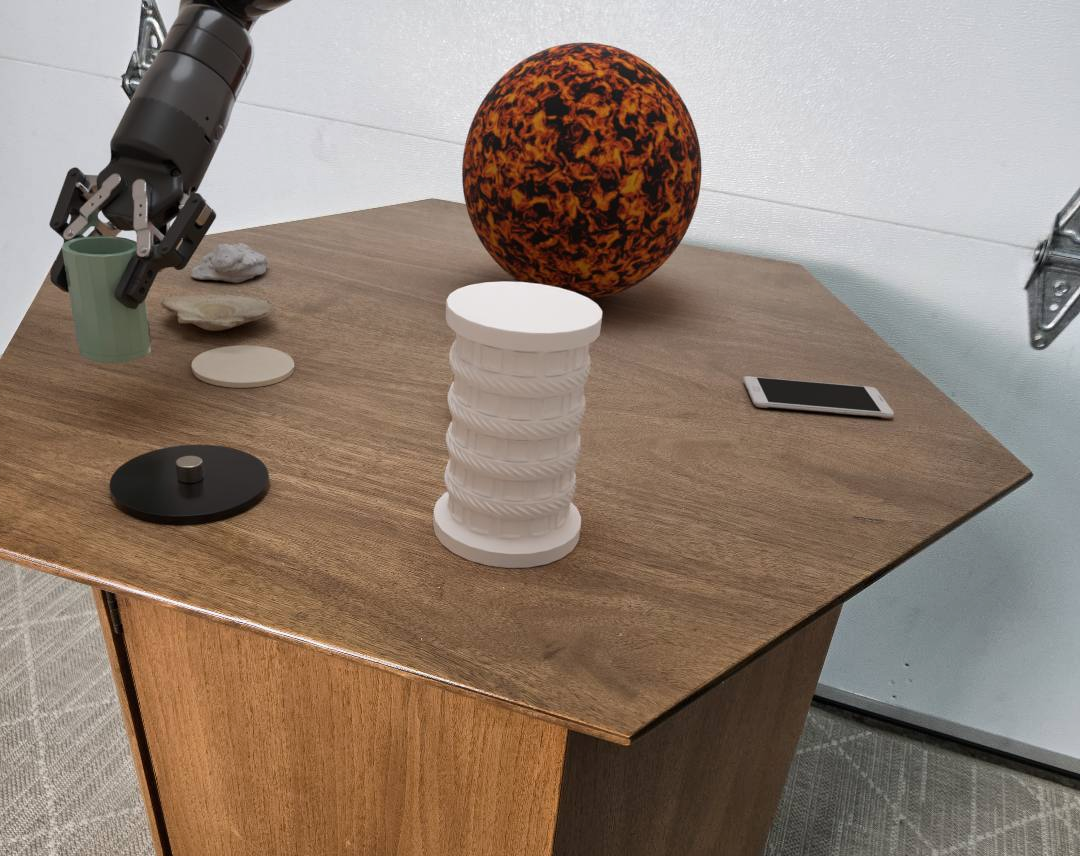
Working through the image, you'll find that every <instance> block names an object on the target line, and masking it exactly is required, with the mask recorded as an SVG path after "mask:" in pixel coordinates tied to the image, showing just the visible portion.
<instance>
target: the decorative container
mask: <svg viewBox="0 0 1080 856" xmlns="http://www.w3.org/2000/svg"><path fill="white" fill-rule="evenodd" d="M602 319H603V310H602V308H601V307H600V306H599V304H598V303H597V302H595V301H594V300H593V299H589V298H587V297H585V296H583V295H580V294H578V293H576V292H572V291H569V290H566V289H562V288H558V287H553V286H548V285H543V284H535V283H526V282H519V281H503V280H502V281H487V282H486V281H485V282H479V283H473V284H469V285H466V286H462V287H459V288H457V289H455V290H454V291H452V292H450V293H449V294H448V297H447V298H446V300H445V320H446V323H447V326H448V327H449V328H450V329H451V330H452V331H454V332H455V340H454V341H453V343H452V345H451V347H450V350H449V355H448V360H449V361H448V362H449V366H450V369H451V372H452V373H451V374H452V375H453V374H454V382H453V381H452V383H451V385H450V387H449V390H448V393H447V397H446V399H447V405H448V410H449V413H450V416H451V415H452V422H451V421H450V423H449V425H448V427H447V431H446V434H445V445H446V447H447V452H448V455H449V456H450V458H449V459H448V461H447V464H446V467H445V470H444V474H443V478H444V479H443V480H444V485H445V489H446V492H444V493H443V494H442V495H441V496H440V497H439V498H438V499H437V500H436V502H435V505H434V507H433V512H432V513H433V514H432V526H433V527H432V528H433V532H434V535H435V536H436V538H437V540H438V541H439V542H440V544H441V545H442V546H444V547H445V548H446V549H447V550H448V551H450V552H451V553H453V554H454V555H457V556H459V557H461V558H463V559H465V560H467V561H470V562H474V563H477V564H481V565H484V566H488V567H495V568H504V569H505V568H506V569H521V568H523V569H524V568H533V567H539V566H544V565H548V564H551V563H554V562H556V561H558V560H559V561H560V560H561V559H563V558H565V557H566V556H567V555H569V554H570V553H571V552H573V551H574V549H575V548H576V546H577V545H578V543H579V541H580V535H581V527H582V516H581V514H580V511H579V509H578V507H577V506H576V505H575V504H574V502H572V501H573V500H574V497H575V494H576V491H575V490H576V489H577V488H578V486H577V485H576V484H577V482H578V481H577V479H576V478H577V474H576V472H575V467H576V465H577V463H578V462H579V457H580V456H581V454H580V452H582V448H581V446H582V442H581V438H582V437H581V435H580V426H581V425H582V423H584V418H585V416H586V415H585V414H586V412H587V409H586V406H587V403H586V397H585V394H584V392H585V384H586V383H587V382H588V380H589V376H590V375H591V373H590V372H591V371H592V366H591V365H592V362H591V356H590V354H589V350H590V344H592V343H593V342H595V341H596V340H597V339H598V338H599V337H600V336H601V328H602Z"/></svg>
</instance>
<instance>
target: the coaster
mask: <svg viewBox="0 0 1080 856" xmlns="http://www.w3.org/2000/svg"><path fill="white" fill-rule="evenodd" d="M191 372H192V374H193V376H194V377H196V378H197V379H198V380H200V381H202V382H204V383H206V384H209V385H213V386H218V387H223V388H231V389H232V388H233V389H251V388H261V387H265V386H266V387H267V386H271V385H274V384H277V383H278V384H279V383H280V382H283V381H285V380H287V379H288V378H290V377H291V376H292V375H293V374H294V372H295V361H294V359H293V358H292V356H290V355H289V354H288V353H286V352H285V351H281V350H279V349H276V348H272V347H268V346H260V345H247V344H246V345H241V344H240V345H228V346H222V347H217V348H212V349H209V350H207V351H203V352H201V353H200V354H198V355H196V356H195V357H194V358H193V359H192V362H191Z"/></svg>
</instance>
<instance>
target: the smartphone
mask: <svg viewBox="0 0 1080 856" xmlns="http://www.w3.org/2000/svg"><path fill="white" fill-rule="evenodd" d="M742 380H743V383H744V386H745V388H746V390H747V392H748V394H749V397H750V399H751V401H752V404H753V405H754V406H755V407H757V408H763V409H773V410H785V411H798V412H807V413H808V412H809V413H819V414H820V413H822V414H830V415H831V414H832V415H845V416H857V417H868V418H879V419H880V418H881V419H892V418H894V416H895V412H894V410H893V409H892V407H891V406H890V405H889V404H888V402H887V401H886V399H885V398H884V397H883V395H882V394H881V393H880V391H879V390H878V389H877V388H876V387H873V386H866V385H854V384H844V383H843V384H842V383H829V382H819V381H818V382H817V381H809V380H808V381H806V380H795V379H785V378H784V379H783V378H775V377H774V378H772V377H761V376H750V375H745V376H743V378H742Z"/></svg>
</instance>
